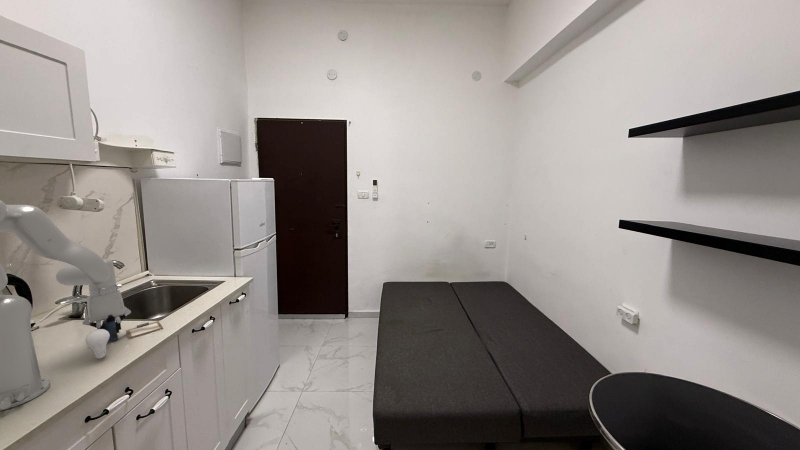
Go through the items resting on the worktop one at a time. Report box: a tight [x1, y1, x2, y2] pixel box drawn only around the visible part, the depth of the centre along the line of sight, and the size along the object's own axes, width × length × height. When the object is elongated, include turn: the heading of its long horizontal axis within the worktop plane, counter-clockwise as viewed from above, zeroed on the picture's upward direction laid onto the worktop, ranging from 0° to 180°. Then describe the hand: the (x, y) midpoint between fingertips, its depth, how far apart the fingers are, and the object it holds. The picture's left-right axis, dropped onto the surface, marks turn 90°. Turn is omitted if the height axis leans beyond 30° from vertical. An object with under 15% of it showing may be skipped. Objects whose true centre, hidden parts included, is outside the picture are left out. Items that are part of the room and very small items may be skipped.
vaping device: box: [101, 315, 119, 343], centre depth 117 cm, size 3×5×12 cm, turn 78°
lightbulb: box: [84, 328, 110, 359], centre depth 105 cm, size 6×6×11 cm
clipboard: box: [125, 320, 164, 340], centre depth 126 cm, size 9×11×1 cm
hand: (110, 333), depth 117 cm, fingers closed on vaping device, 3 cm apart
